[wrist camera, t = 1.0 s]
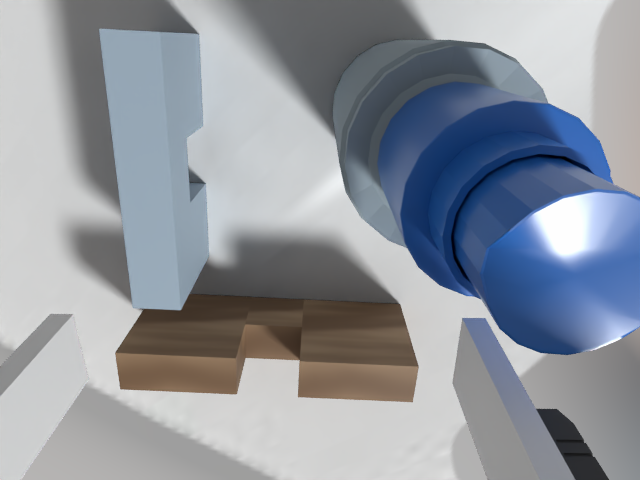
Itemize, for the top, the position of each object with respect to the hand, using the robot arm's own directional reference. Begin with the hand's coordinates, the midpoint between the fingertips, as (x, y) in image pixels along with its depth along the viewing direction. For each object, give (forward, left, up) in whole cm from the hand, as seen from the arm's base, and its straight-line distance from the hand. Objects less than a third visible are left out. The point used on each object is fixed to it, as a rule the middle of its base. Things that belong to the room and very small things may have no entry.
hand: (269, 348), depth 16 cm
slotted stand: (+11, -1, -20) cm, 23 cm away
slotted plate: (-2, -8, -20) cm, 22 cm away
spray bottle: (-6, +7, -20) cm, 22 cm away
